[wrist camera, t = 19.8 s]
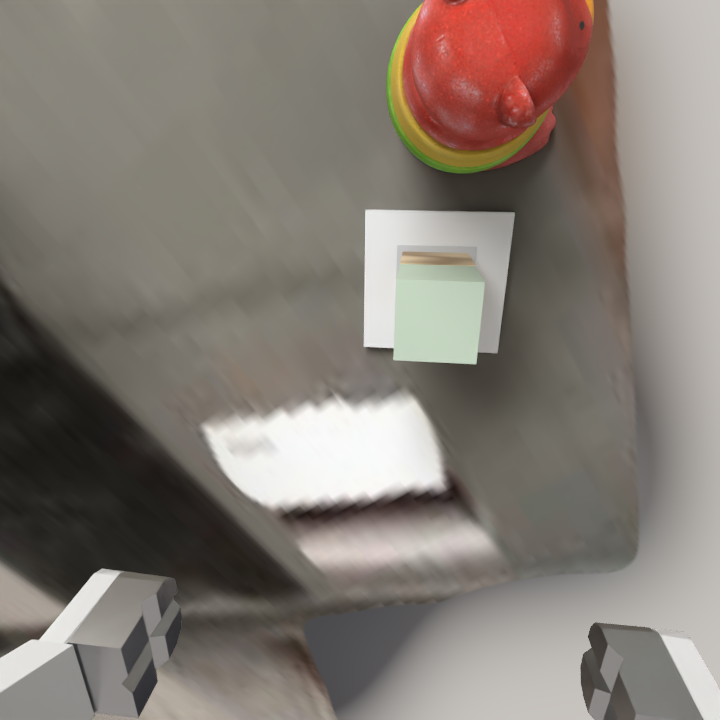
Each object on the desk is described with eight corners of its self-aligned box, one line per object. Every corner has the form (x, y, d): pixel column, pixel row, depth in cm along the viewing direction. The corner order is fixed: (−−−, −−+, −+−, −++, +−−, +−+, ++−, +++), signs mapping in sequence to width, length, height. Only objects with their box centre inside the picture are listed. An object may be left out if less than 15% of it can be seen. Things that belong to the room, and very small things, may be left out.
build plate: (364, 343, 40) (363, 347, 40) (366, 209, 36) (365, 210, 35) (495, 349, 39) (497, 353, 38) (513, 211, 35) (515, 213, 34)
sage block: (397, 334, 33) (393, 360, 29) (399, 263, 32) (396, 279, 27) (468, 337, 33) (476, 364, 28) (475, 266, 31) (485, 282, 26)
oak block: (399, 314, 38) (397, 333, 33) (402, 251, 36) (399, 262, 32) (462, 316, 38) (468, 336, 33) (468, 253, 36) (475, 265, 31)
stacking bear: (561, 140, 33) (700, 107, 17) (427, 204, 36) (433, 232, 19) (509, -28, 30) (616, -271, 14) (366, 56, 33) (311, -61, 16)
